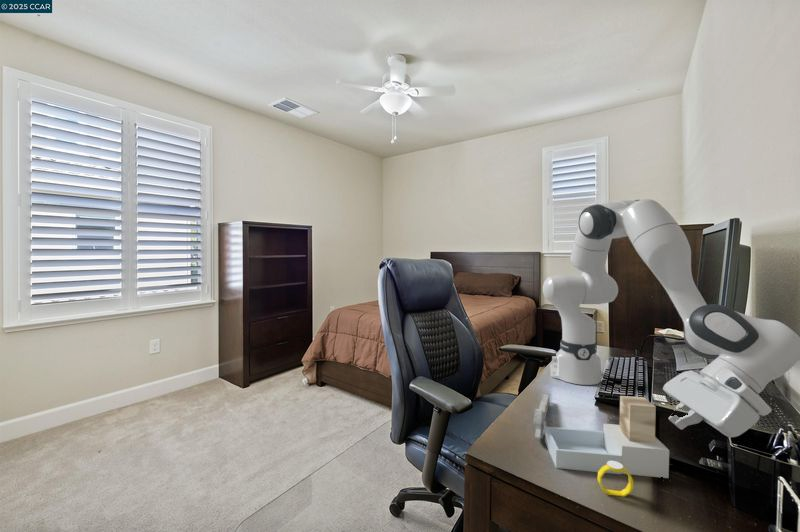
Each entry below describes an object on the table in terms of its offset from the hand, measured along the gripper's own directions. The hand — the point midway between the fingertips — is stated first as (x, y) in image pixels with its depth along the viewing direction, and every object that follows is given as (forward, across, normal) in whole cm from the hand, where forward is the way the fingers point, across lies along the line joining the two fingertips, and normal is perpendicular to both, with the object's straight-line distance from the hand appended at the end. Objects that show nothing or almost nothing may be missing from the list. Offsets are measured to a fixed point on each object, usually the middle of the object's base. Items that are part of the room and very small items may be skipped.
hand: (674, 424), depth 78 cm
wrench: (+24, -16, -10) cm, 31 cm away
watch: (+18, +12, -5) cm, 23 cm away
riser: (+12, 0, +1) cm, 12 cm away
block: (+8, 0, -3) cm, 8 cm away
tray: (+20, 0, -7) cm, 21 cm away
